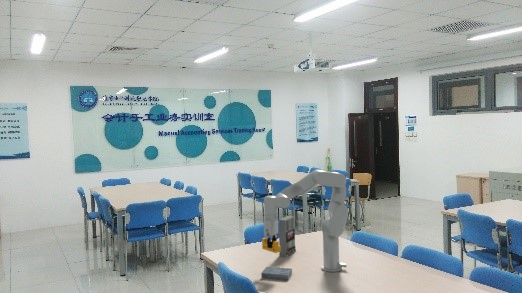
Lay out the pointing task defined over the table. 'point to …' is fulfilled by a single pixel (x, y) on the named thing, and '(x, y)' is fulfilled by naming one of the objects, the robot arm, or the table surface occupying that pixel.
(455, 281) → the table surface
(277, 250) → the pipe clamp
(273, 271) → the slate stand
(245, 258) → the table surface
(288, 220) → the cassette tape recorder
